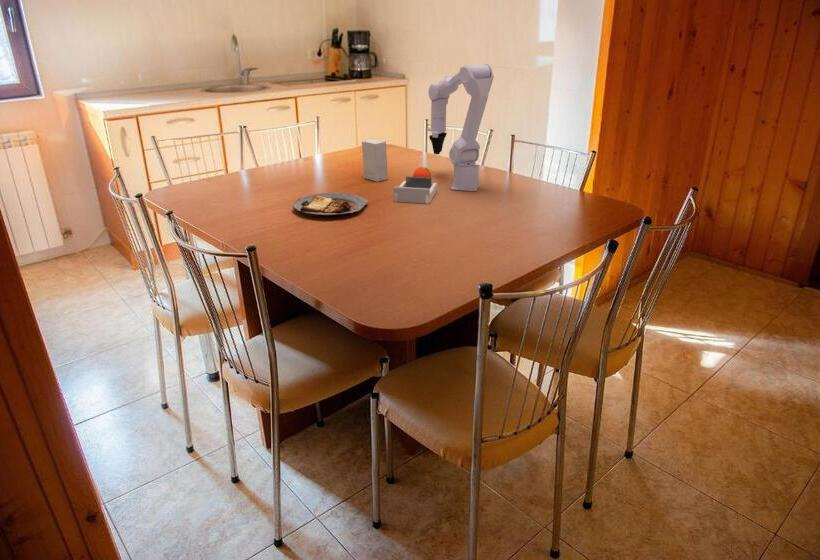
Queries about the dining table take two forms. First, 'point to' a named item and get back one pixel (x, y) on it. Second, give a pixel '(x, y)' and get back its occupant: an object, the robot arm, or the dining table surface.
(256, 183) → the dining table surface
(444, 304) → the dining table surface
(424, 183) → the block
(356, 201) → the food plate
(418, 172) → the clementine
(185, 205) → the dining table surface
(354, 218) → the dining table surface
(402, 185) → the grey open tray
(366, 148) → the skincare box
